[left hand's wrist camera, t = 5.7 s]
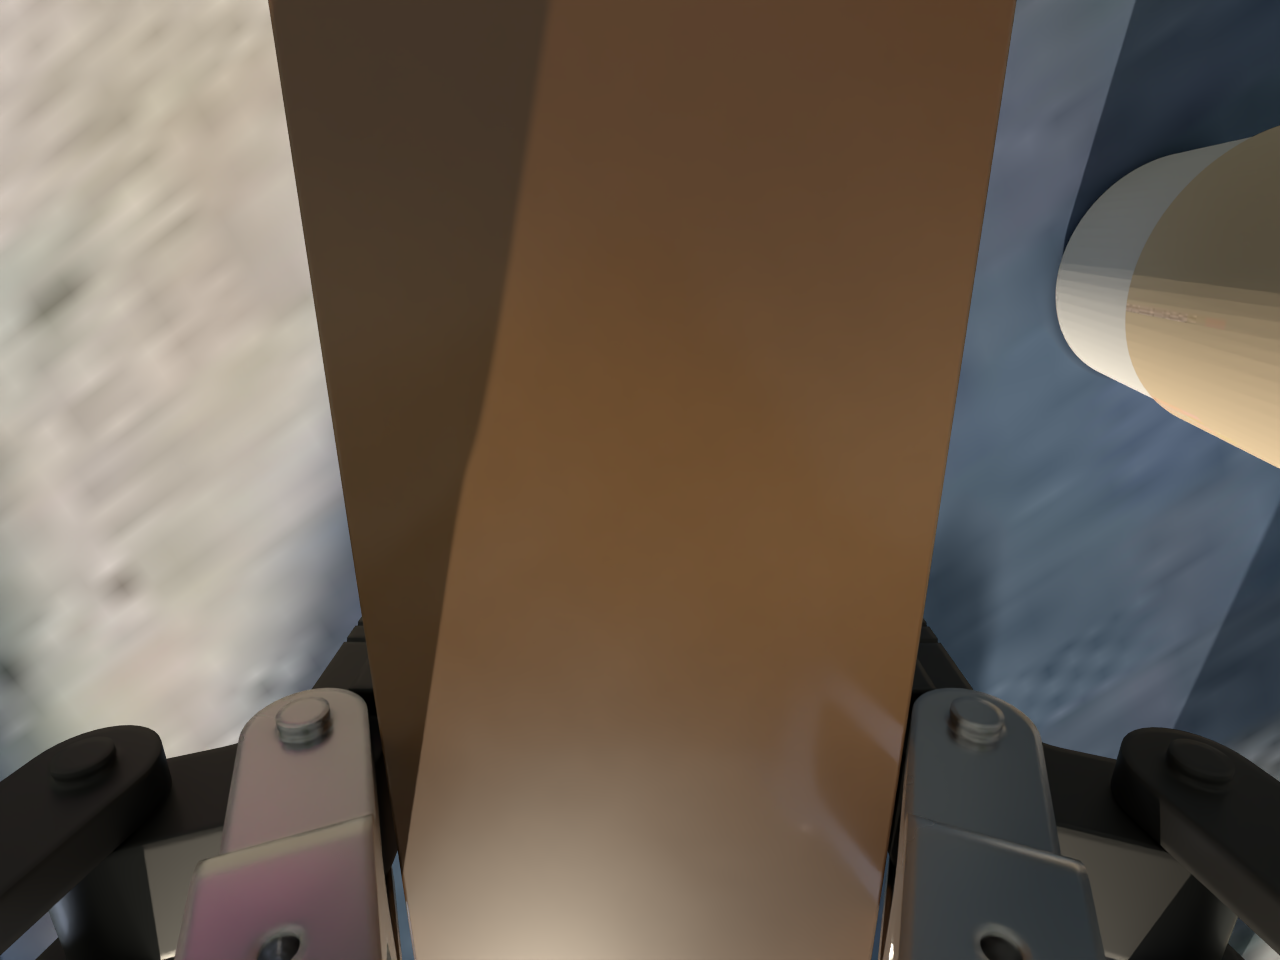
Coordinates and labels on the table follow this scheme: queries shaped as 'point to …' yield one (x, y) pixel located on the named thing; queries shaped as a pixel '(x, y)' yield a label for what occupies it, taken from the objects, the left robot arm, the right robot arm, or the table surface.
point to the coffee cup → (1186, 288)
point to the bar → (642, 441)
